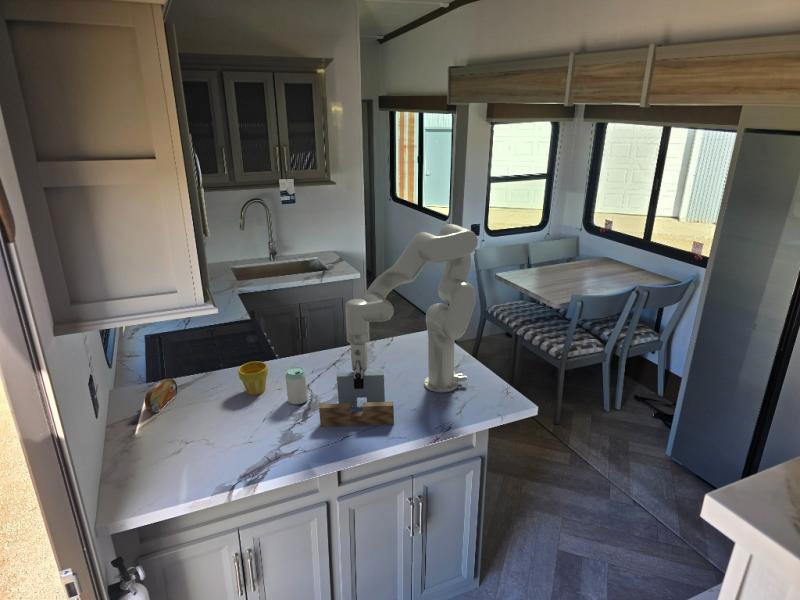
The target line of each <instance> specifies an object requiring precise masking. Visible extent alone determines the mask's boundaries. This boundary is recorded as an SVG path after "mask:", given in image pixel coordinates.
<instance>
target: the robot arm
mask: <svg viewBox="0 0 800 600" xmlns="http://www.w3.org/2000/svg"><path fill="white" fill-rule="evenodd" d="M478 243H479V241H478V236H477V235H476V233H475V232H474V231H473V230H470V229H469V228H466V227H463V226H460V225H458V224H454V223H447V224H444V225H443V226H441V228H440V230H439V234H438V236H437V235H434V234H432V233H430V232H426V231H421V232H418V233H416V234H415V235H414V236H413V237H412V239H411V240H410V241H409V243H408V244H407V246H406V247H405V248H404V250H403V251H402V253H401V254H400V256H399V257H398V258H397V260H396V261H395V263H394V264H393V265H392V266H391V267H390V268H388V269H386V270H385V271H384V272H383V273H381V274H380V275H379V276H377V277H376V278H375V279H374V280H373V282H372V283H371V284H370V285H369V287H368V288H367V290H366V291H365V292H364V294H363V296H362V298H355V299H354V298H352V299H350V300H348V301H347V302H346V303H345V323H346V324H345V325H346V327H345V328H346V329H345V330H346V341H347V343H348V344H350V355H351V358H350V359H351V368H352V372H354V389H363V388H364V379H363V372H365V371H368V361H369V360H368V342H369V341H370V323H375V322H378V323H381V322H382V323H383V322H386V321H390V319H391V318H392V317H393V315H394V311H395V310H394V306H393V305H392V303H391V302H390V301H389V300H387V299H386V298H387V296H388V295H389V294H390V292H392V290H393V289H396V287H398V286H400V285H403V284H404V285H405V284H409V283H411V282H414V281H415V280H416V278H417V277H418V276H419V274H420V273H421V271H422V270H423V268H424V267H425V266H426V264H427V263H429V262H430V263H432V264H436V263H437V264H439V263H443V262H444V263H445V262H446V263H445V266H444V269H443V273H442V276H441V278H440V281H439V284H438V289H437V294H438V296H439V298H441V300H442V301H444V302H445V303H447V304H448V305H447V304H445V303H441V302H440V303H439V302H438V303H434V304H432V305H431V306H429V307H428V309H427V311H426V314H425V324H426V330H427V343H428V345H427V349H428V350H427V351H428V353H427V355H428V356H427V357H428V360H427V363H428V365H427V366H428V367H427V369H428V376H427V377H426V378H425V379H424V381H423V383H424V387H425V388H426V389H427V390H428V391H431V392H434V393H440V394H441V393H449V392H453V391H454V390H456V389H457V388H458V386H459V382H467V381H468V378H467V377H468V376H467V375H463V373H456V372H455V346H456V345H455V344H456V343H455V341H456V340H458V339H460V338H462V337H463V335H464V334H465V332H466V331H467V329H468V326H469V325H470V324H469V323H470V320H471V318H472V315H473V312H474V310H475V306H476V303H477V291H476V289H475V287H474V286H473V285H472V284H471V283H470V282H467V280H468V277H469V273H470V270H471V265H472V264H471V263H472V255H471V254H472V253H473V252H474V251H475V250H476V249H477V247H478ZM360 372H361V373H360Z"/></svg>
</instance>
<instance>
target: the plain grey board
mask: <svg viewBox="0 0 800 600" xmlns="http://www.w3.org/2000/svg"><path fill="white" fill-rule="evenodd" d="M360 373H361V372H360ZM363 379H364V388H363V389H354V371H343V372H342V371H340V372H337V373H336V382H337V383H336V384H337V397H338V399H337V400H338V403H351V408H353V407H358V399H360V398H361V399H362V398H364V399H365V398H366V402H386V397H385V396H386V395H385V392H386V390H385V371H384V370H372V371H370V370H369V371H368V370H366V371H365V372H363Z"/></svg>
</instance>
